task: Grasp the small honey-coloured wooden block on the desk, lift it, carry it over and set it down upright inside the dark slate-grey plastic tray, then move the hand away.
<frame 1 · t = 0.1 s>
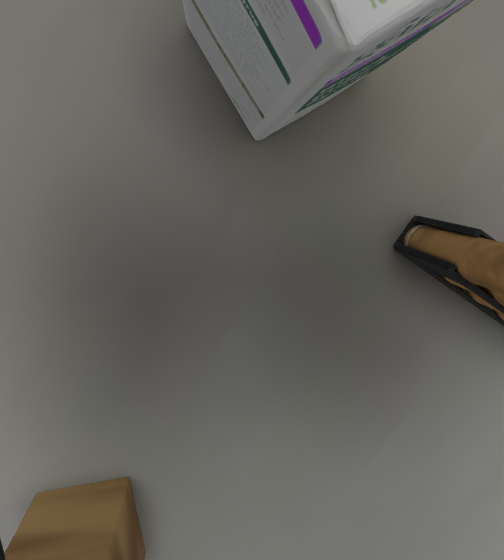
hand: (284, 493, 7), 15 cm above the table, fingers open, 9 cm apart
ammunition clip: (484, 289, 23), on the table
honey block: (92, 522, 24), on the table
syrup box: (275, 49, 20), on the table
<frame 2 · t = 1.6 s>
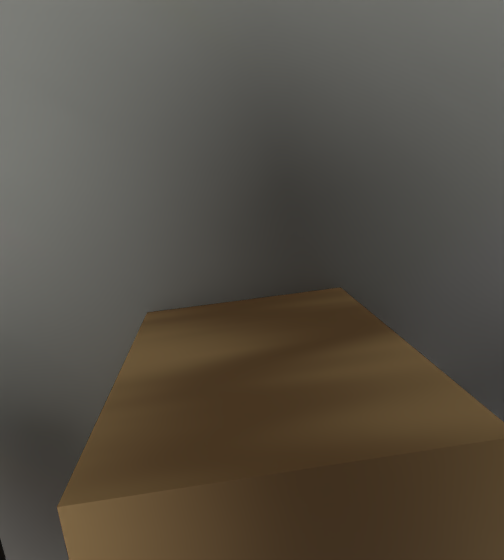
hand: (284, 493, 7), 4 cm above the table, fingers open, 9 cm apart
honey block: (255, 388, 11), on the table
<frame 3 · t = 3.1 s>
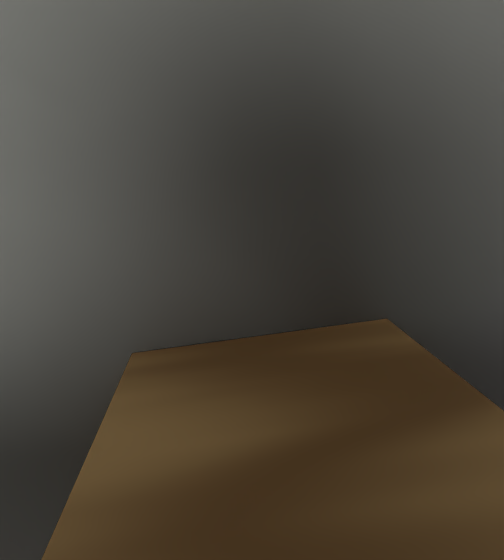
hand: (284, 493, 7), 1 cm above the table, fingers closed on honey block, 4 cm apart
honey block: (274, 450, 9), on the table, touching gripper
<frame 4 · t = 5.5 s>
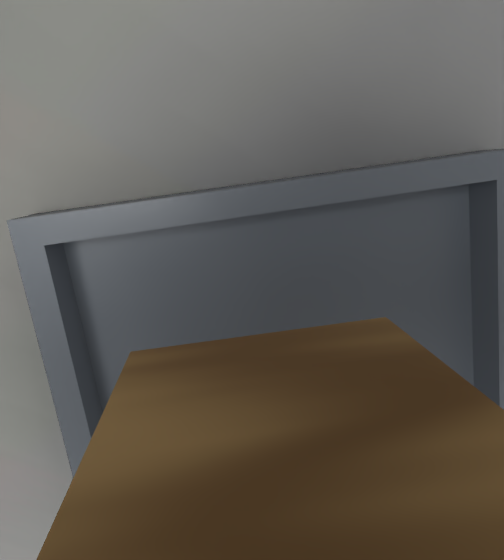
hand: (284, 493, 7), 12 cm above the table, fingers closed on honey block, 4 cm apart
tray: (290, 388, 21), on the table
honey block: (273, 448, 9), point 11 cm above the table, touching gripper
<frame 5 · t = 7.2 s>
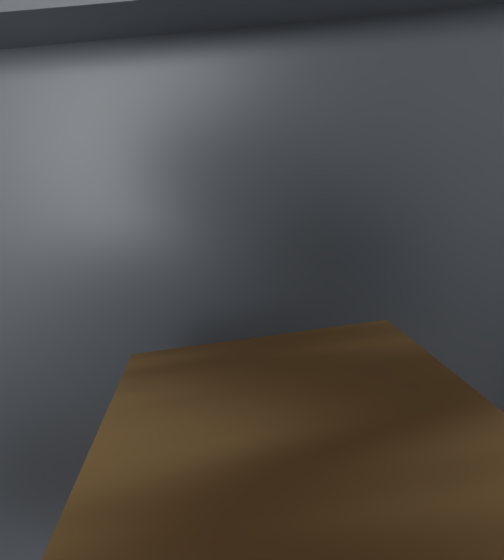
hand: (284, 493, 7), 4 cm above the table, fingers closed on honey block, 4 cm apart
tray: (255, 380, 12), on the table
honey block: (274, 451, 9), point 3 cm above the table, touching gripper
when the fingers open (3 cm above the table, at t = 8.3 s): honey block stays where it is, resting on tray.
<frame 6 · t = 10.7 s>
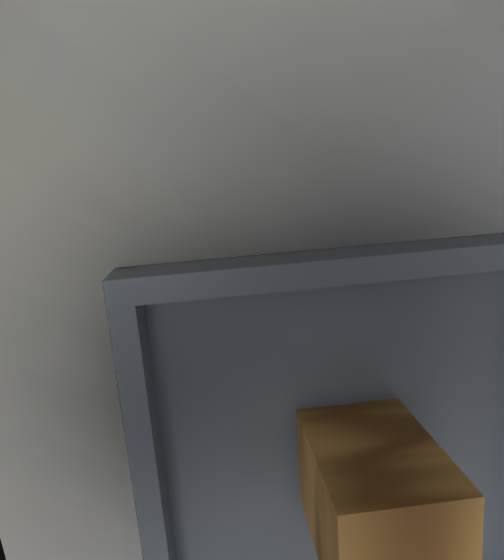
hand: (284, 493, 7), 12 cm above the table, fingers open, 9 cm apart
tray: (344, 443, 21), on the table
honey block: (348, 450, 21), point 1 cm above the table, touching tray
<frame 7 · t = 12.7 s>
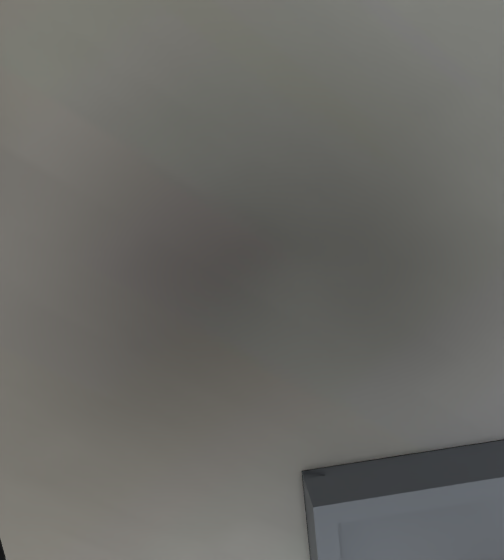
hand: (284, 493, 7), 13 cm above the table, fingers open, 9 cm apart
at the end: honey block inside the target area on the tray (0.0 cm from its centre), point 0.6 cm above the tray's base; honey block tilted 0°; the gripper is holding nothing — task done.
